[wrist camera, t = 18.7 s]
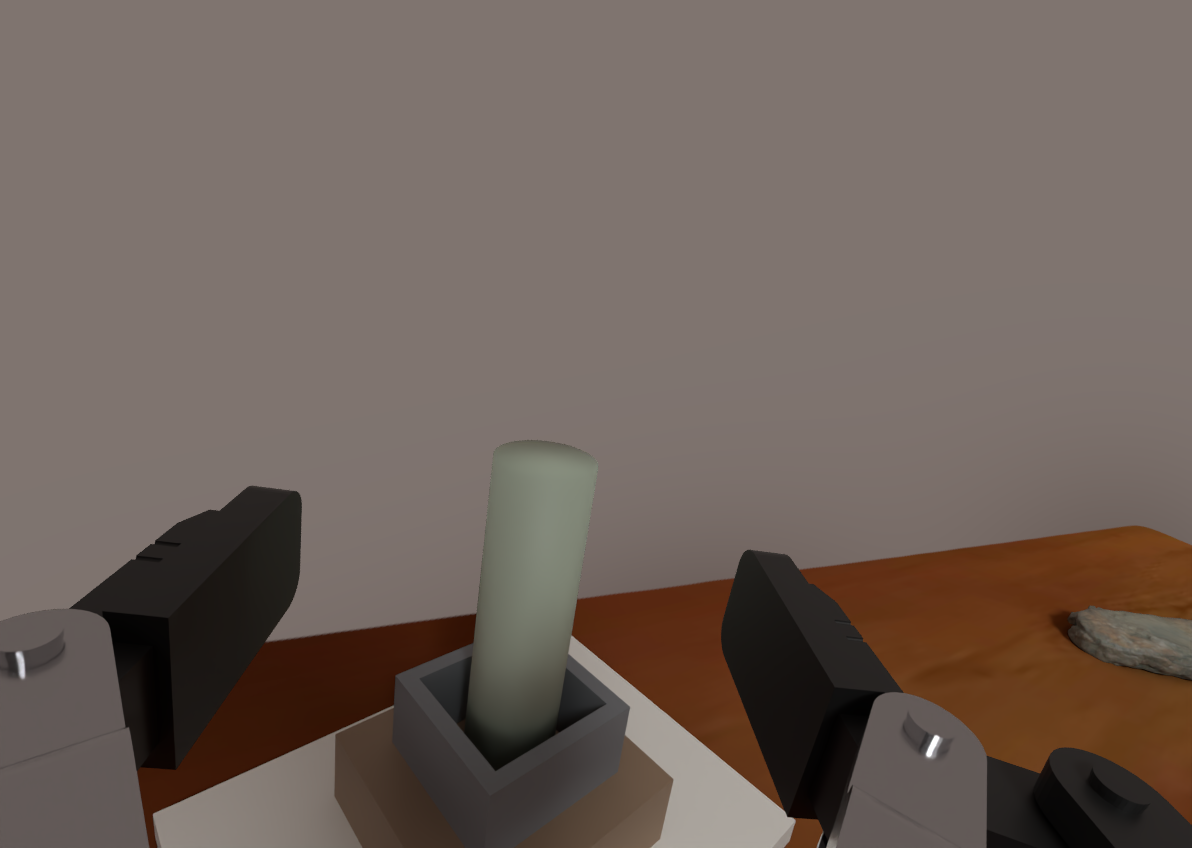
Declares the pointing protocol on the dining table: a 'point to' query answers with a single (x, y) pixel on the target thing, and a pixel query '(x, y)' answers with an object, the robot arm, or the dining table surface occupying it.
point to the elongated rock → (1135, 640)
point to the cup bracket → (488, 780)
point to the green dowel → (527, 594)
